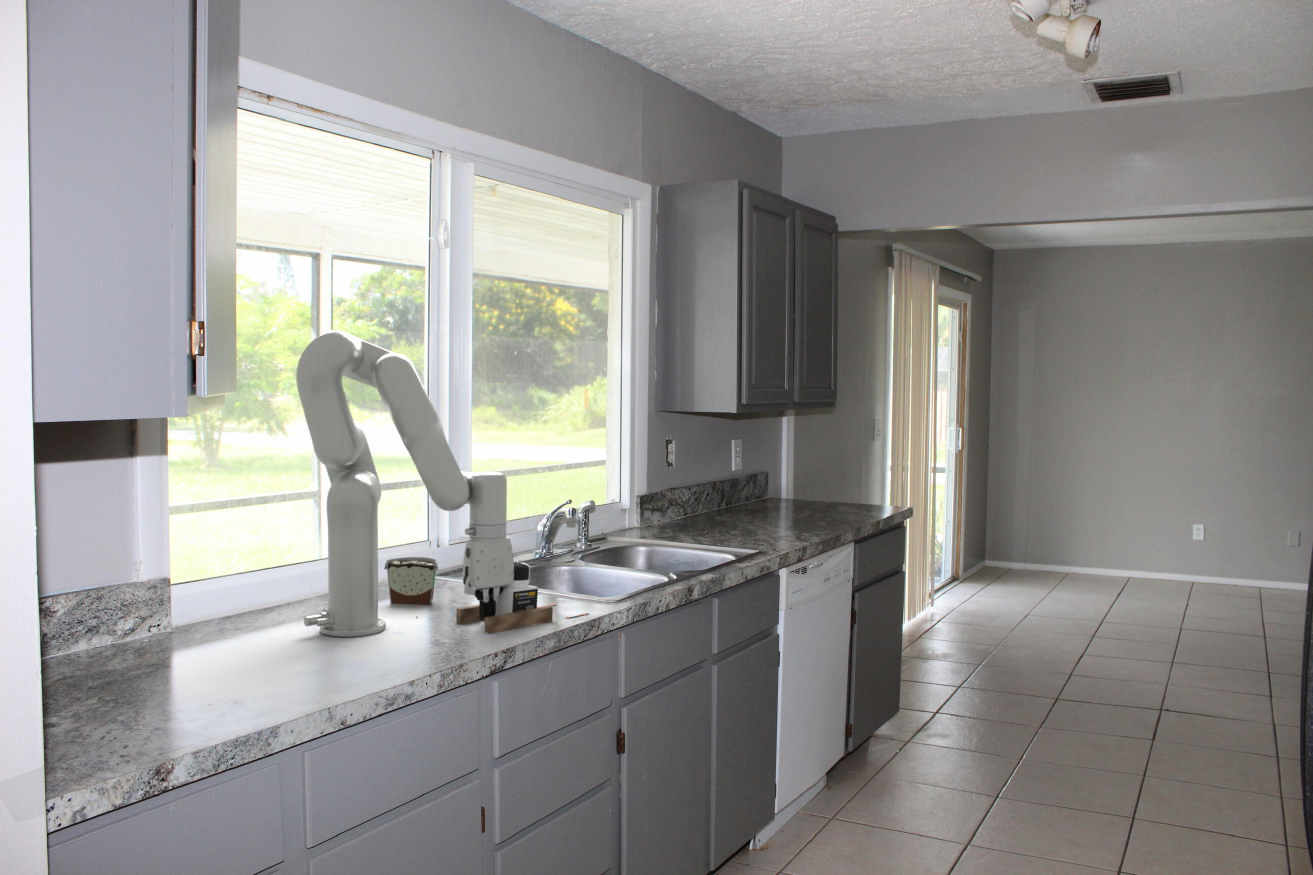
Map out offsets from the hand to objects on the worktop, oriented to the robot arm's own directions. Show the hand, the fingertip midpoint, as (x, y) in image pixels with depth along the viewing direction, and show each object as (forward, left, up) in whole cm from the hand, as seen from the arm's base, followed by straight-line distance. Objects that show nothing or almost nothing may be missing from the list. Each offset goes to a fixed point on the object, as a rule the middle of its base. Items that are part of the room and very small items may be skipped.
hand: (487, 619), depth 197 cm
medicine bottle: (+6, 0, -1) cm, 7 cm away
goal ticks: (+19, 0, -1) cm, 19 cm away
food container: (-1, +28, -2) cm, 28 cm away
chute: (+4, 0, -1) cm, 5 cm away
